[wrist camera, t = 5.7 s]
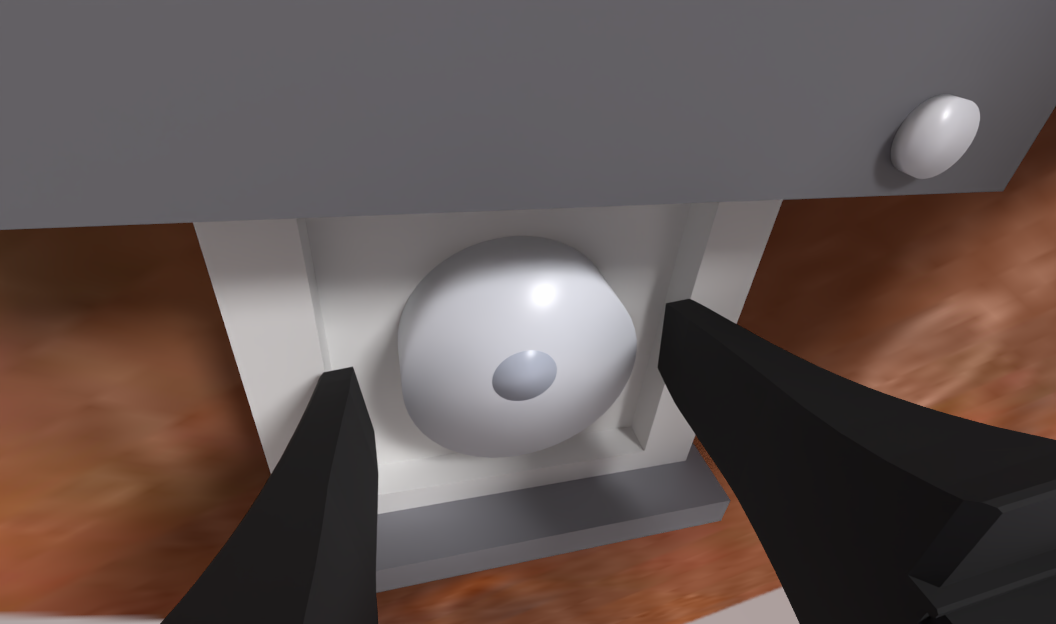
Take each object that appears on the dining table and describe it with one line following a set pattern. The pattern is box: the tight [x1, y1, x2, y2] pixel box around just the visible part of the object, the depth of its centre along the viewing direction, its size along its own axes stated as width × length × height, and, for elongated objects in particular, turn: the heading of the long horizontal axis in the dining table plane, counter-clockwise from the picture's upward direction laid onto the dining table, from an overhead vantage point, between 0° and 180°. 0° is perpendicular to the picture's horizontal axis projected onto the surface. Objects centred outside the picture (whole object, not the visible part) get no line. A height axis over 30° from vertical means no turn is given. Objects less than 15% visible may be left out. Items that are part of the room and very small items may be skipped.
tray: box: [193, 200, 783, 593], centre depth 13 cm, size 11×13×3 cm
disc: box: [398, 236, 637, 458], centre depth 13 cm, size 5×5×2 cm
